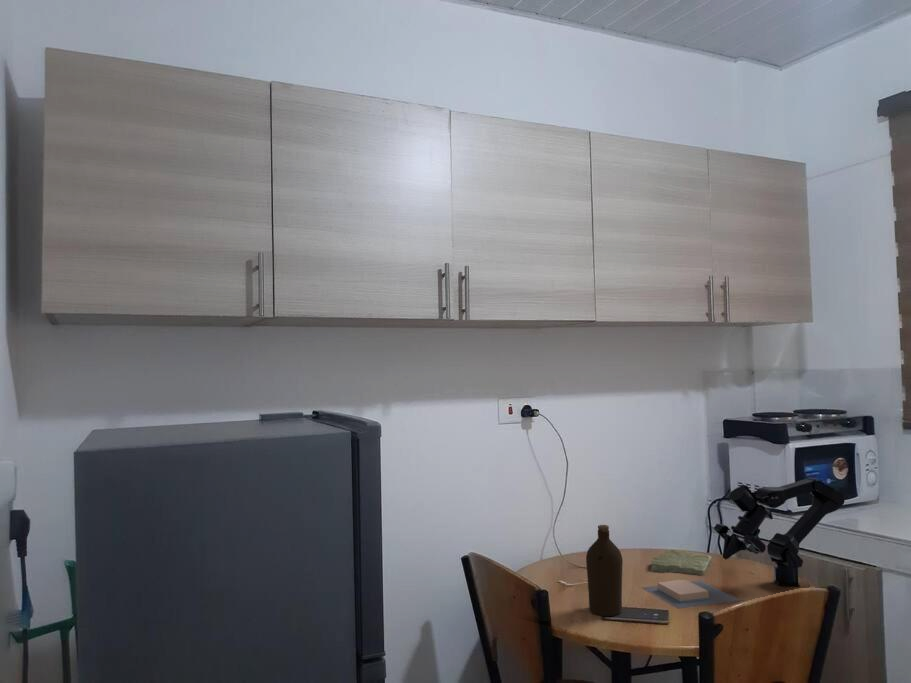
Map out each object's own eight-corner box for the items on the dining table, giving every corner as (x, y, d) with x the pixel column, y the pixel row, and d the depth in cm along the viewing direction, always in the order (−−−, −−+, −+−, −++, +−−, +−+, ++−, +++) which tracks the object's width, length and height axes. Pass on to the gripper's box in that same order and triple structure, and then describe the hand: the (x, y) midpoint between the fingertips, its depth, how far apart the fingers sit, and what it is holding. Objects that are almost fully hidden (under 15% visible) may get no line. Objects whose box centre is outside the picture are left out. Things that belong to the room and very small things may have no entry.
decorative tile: (712, 563, 249) (712, 553, 250) (704, 579, 232) (704, 568, 232) (660, 557, 258) (660, 547, 258) (648, 571, 240) (648, 561, 241)
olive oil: (629, 616, 197) (626, 529, 198) (593, 618, 196) (591, 531, 197) (616, 603, 208) (614, 521, 209) (582, 605, 207) (580, 522, 208)
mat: (700, 582, 227) (700, 580, 227) (740, 602, 207) (740, 600, 207) (641, 589, 221) (641, 587, 221) (677, 610, 201) (677, 608, 201)
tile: (685, 579, 221) (657, 582, 218) (708, 590, 209) (679, 594, 206) (685, 586, 220) (658, 590, 218) (708, 598, 209) (680, 602, 206)
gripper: (788, 543, 214) (760, 583, 210) (747, 529, 232) (721, 566, 228) (766, 520, 212) (737, 560, 208) (726, 508, 230) (699, 545, 226)
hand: (724, 558), depth 218 cm, fingers closed
